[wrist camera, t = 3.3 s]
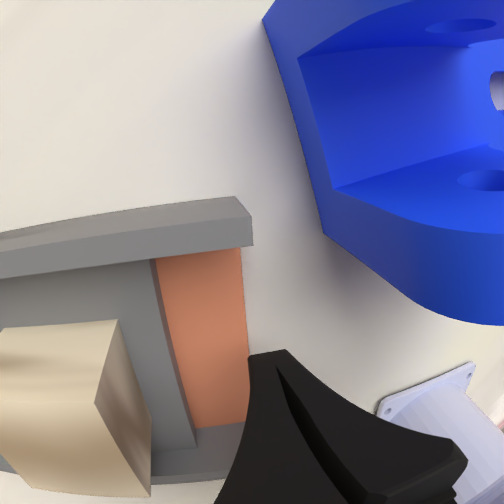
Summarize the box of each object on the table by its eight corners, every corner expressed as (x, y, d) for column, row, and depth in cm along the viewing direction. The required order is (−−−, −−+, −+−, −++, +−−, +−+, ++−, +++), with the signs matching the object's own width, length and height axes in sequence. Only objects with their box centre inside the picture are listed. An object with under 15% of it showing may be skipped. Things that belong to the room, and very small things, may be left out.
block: (152, 418, 12) (150, 497, 8) (51, 419, 11) (31, 487, 7) (117, 319, 10) (93, 402, 6) (3, 328, 9) (-43, 394, 6)
